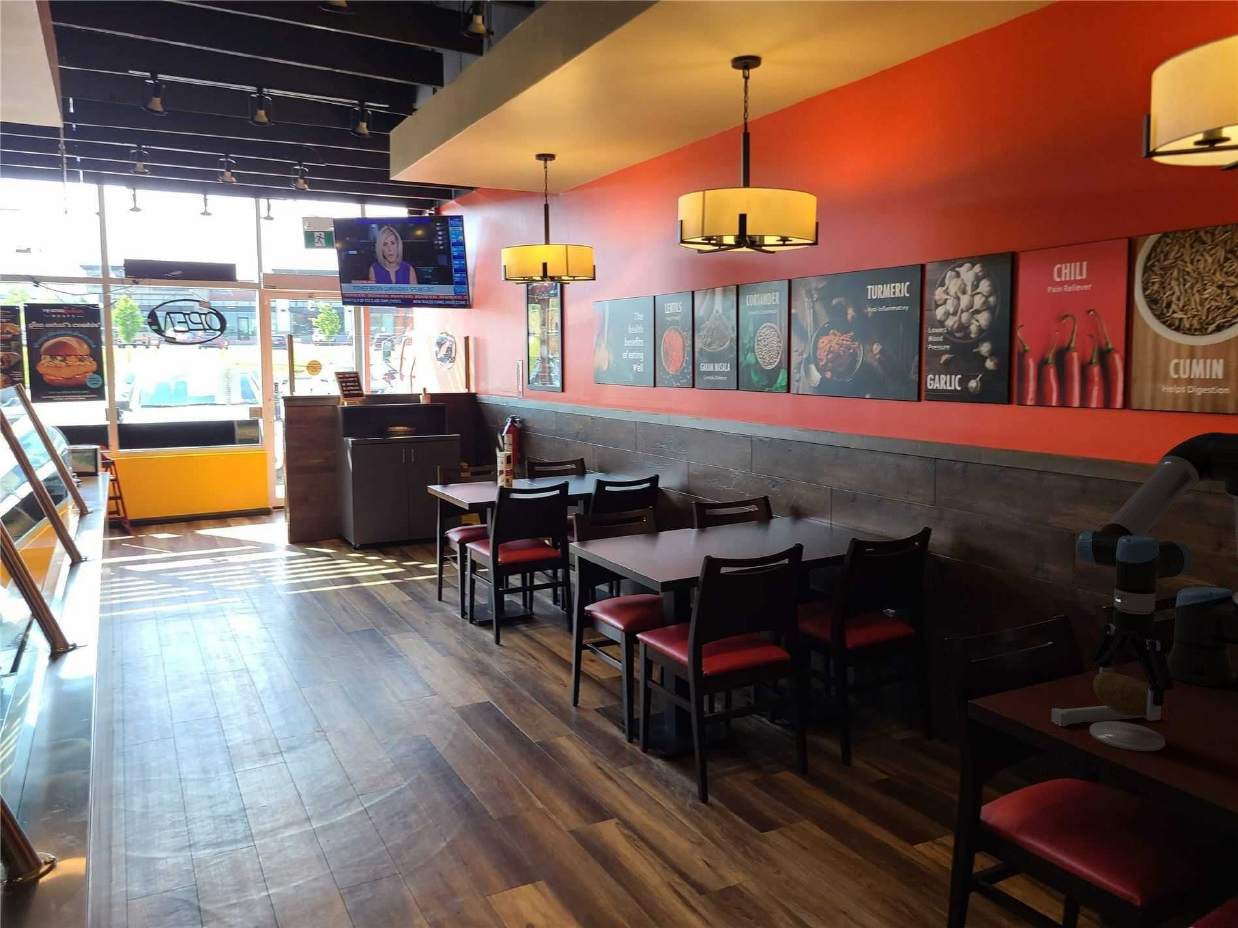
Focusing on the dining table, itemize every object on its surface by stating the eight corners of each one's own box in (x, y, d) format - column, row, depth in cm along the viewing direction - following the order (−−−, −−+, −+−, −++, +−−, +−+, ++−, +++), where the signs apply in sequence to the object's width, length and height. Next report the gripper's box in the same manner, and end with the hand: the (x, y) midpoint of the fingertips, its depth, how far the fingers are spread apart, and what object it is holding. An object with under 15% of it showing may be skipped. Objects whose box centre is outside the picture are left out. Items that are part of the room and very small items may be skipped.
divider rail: (1142, 713, 200) (1142, 700, 200) (1152, 718, 197) (1153, 705, 197) (1051, 721, 195) (1051, 708, 195) (1060, 726, 193) (1061, 713, 192)
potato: (1158, 729, 177) (1160, 691, 177) (1084, 710, 188) (1086, 673, 187) (1173, 716, 184) (1175, 680, 183) (1101, 699, 194) (1103, 664, 194)
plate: (1129, 722, 195) (1130, 717, 195) (1181, 748, 181) (1181, 743, 181) (1074, 727, 192) (1075, 722, 192) (1123, 754, 178) (1123, 749, 178)
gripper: (1076, 596, 195) (1071, 688, 197) (1166, 626, 171) (1159, 731, 173) (1105, 594, 197) (1100, 686, 199) (1198, 624, 173) (1192, 728, 175)
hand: (1128, 707), depth 186 cm, fingers closed on potato, 13 cm apart
